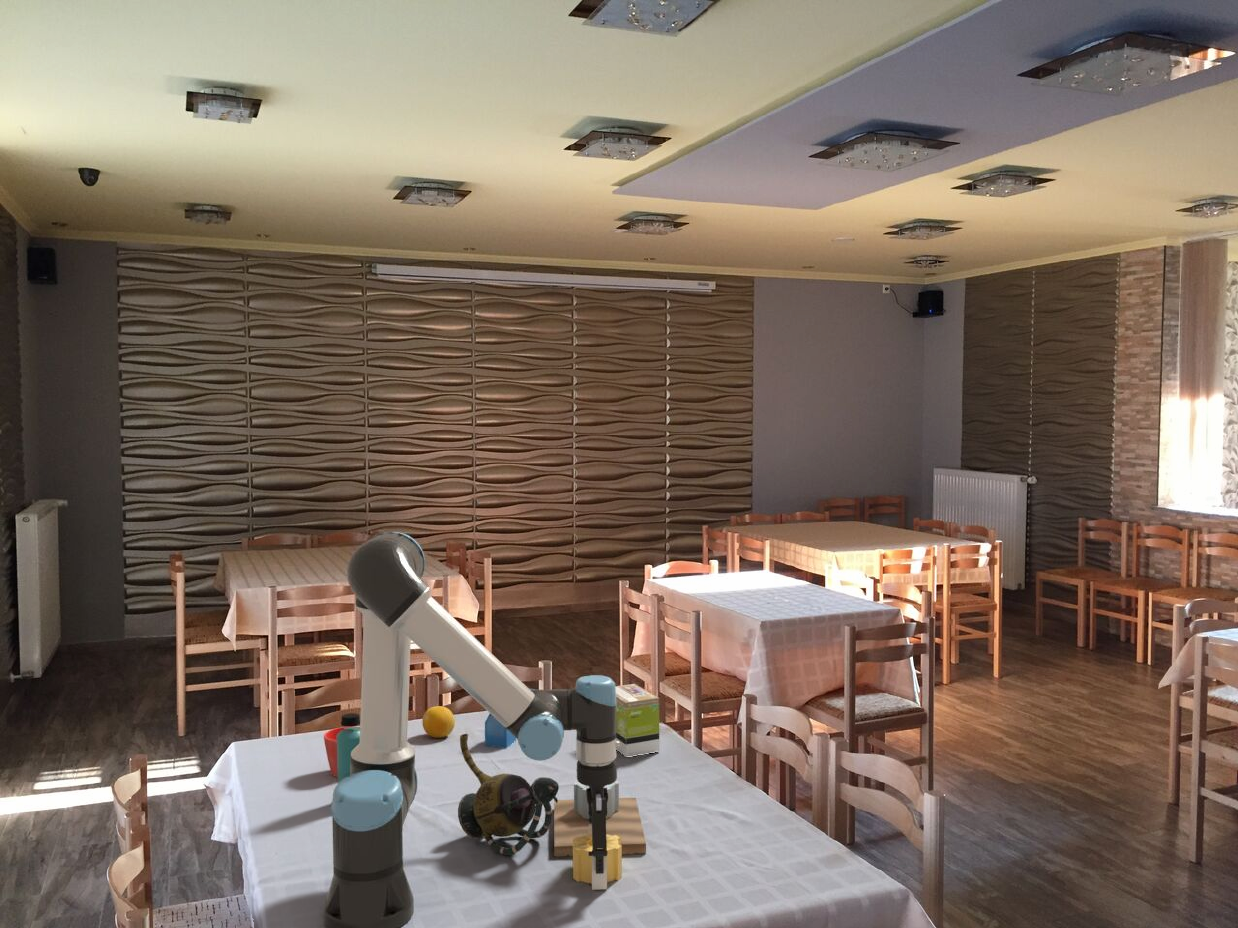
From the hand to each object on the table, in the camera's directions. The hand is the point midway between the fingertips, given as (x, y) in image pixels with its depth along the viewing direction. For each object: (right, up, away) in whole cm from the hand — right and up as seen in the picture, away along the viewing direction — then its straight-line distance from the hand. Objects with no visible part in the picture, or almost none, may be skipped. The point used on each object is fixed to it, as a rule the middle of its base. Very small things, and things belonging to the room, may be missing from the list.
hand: (597, 872), depth 189 cm
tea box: (+7, +3, +73) cm, 73 cm away
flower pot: (-62, +2, +55) cm, 83 cm away
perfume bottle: (-27, +3, +76) cm, 81 cm away
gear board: (0, +1, +20) cm, 20 cm away
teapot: (-27, +8, +18) cm, 34 cm away
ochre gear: (0, 0, 0) cm, 0 cm away
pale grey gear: (-1, +3, +25) cm, 26 cm away
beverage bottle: (-56, +1, +35) cm, 66 cm away
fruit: (-45, +3, +82) cm, 94 cm away
